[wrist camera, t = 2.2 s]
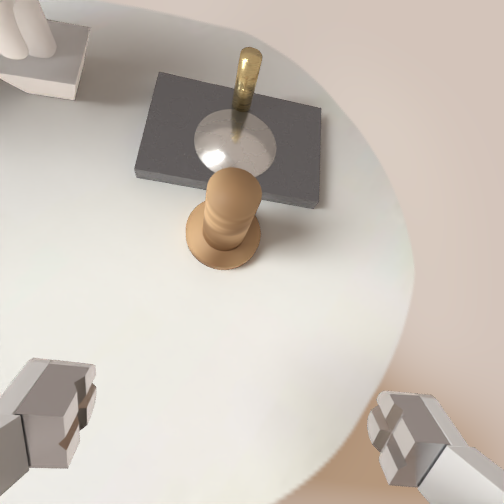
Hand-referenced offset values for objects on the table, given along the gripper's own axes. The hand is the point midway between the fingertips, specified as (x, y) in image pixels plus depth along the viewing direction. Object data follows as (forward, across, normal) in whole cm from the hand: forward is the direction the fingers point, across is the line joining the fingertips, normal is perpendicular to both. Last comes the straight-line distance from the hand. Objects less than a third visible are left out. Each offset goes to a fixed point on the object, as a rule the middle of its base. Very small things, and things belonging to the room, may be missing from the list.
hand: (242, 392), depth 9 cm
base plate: (+30, 0, -3) cm, 30 cm away
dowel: (+31, 0, -7) cm, 32 cm away
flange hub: (+22, 0, +4) cm, 23 cm away
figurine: (+32, +19, -6) cm, 38 cm away
